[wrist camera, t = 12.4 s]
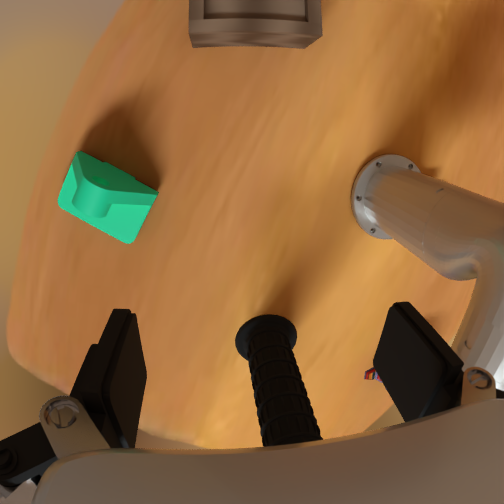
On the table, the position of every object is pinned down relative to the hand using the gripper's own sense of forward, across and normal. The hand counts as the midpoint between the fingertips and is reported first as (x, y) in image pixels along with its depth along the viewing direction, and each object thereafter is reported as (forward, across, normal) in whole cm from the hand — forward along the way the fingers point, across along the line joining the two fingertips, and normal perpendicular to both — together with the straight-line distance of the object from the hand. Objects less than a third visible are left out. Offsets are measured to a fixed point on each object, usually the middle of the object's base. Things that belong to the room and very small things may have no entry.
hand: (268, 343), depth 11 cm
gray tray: (+32, -1, -25) cm, 40 cm away
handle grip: (+32, -6, +25) cm, 41 cm away
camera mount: (+32, +16, +2) cm, 36 cm away
